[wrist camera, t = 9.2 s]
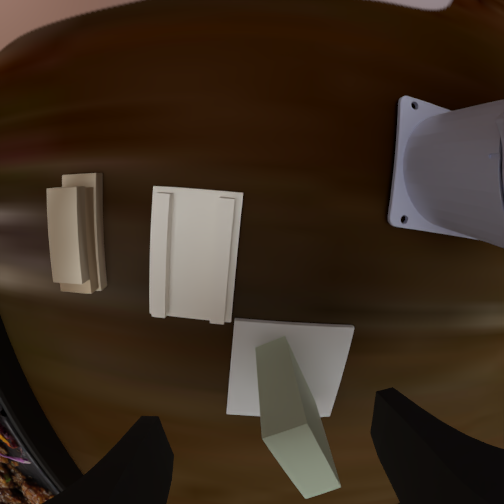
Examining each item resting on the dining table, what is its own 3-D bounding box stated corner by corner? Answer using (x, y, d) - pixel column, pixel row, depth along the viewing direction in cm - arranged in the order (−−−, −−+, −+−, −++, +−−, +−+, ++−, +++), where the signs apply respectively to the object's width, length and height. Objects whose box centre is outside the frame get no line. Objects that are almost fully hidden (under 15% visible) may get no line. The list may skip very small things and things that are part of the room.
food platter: (-103, 305, 20) (-151, 334, 10) (-3, 292, 20) (-88, 346, 9) (39, 529, 30) (24, 566, 20) (160, 557, 30) (152, 607, 20)
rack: (243, 192, 18) (243, 194, 16) (231, 318, 20) (230, 329, 18) (155, 185, 18) (148, 186, 16) (151, 310, 19) (145, 320, 18)
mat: (352, 324, 20) (354, 327, 20) (328, 413, 22) (329, 416, 21) (234, 317, 20) (234, 320, 19) (226, 410, 21) (226, 414, 21)
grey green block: (285, 335, 19) (307, 423, 12) (315, 400, 21) (341, 487, 13) (255, 347, 20) (262, 438, 12) (288, 410, 21) (305, 498, 13)
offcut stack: (104, 173, 18) (78, 173, 14) (108, 284, 19) (86, 303, 16) (71, 174, 17) (43, 176, 14) (77, 282, 19) (52, 299, 16)
